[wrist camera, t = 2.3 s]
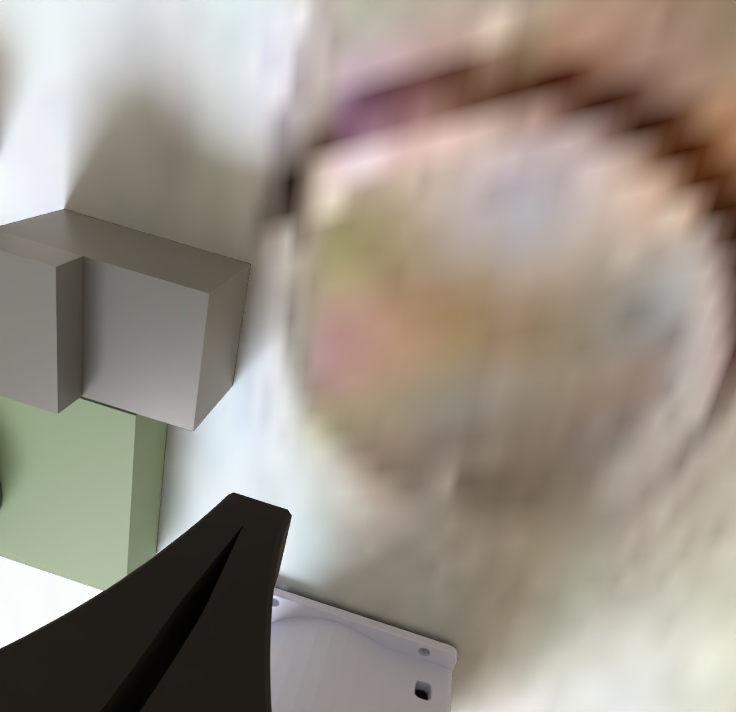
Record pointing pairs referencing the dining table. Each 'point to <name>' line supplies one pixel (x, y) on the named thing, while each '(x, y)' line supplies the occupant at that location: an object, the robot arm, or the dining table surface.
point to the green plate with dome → (80, 489)
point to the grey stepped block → (116, 318)
